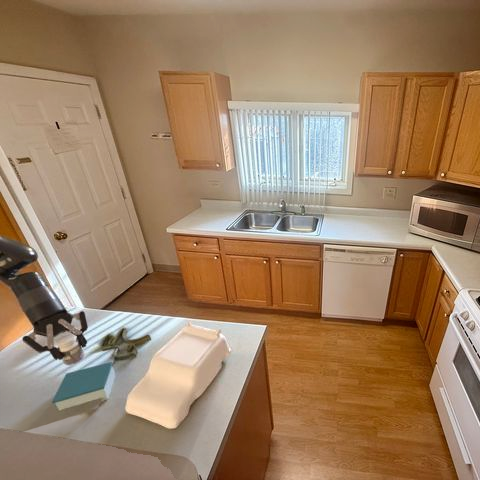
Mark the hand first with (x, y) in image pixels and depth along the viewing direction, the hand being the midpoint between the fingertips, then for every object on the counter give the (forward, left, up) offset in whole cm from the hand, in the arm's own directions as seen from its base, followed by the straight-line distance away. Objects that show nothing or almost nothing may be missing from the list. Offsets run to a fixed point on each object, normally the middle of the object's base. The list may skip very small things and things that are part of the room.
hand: (73, 352), depth 75 cm
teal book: (0, 0, -18) cm, 18 cm away
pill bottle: (-1, +2, -4) cm, 5 cm away
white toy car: (+27, -6, -18) cm, 33 cm away
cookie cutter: (+5, +19, -18) cm, 26 cm away
